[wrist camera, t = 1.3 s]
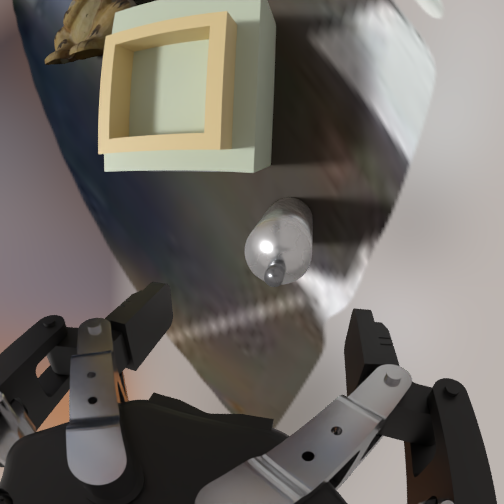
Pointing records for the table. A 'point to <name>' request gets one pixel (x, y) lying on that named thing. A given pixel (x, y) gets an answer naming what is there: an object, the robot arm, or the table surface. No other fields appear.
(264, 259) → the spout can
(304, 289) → the table surface
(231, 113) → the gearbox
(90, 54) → the figurine
